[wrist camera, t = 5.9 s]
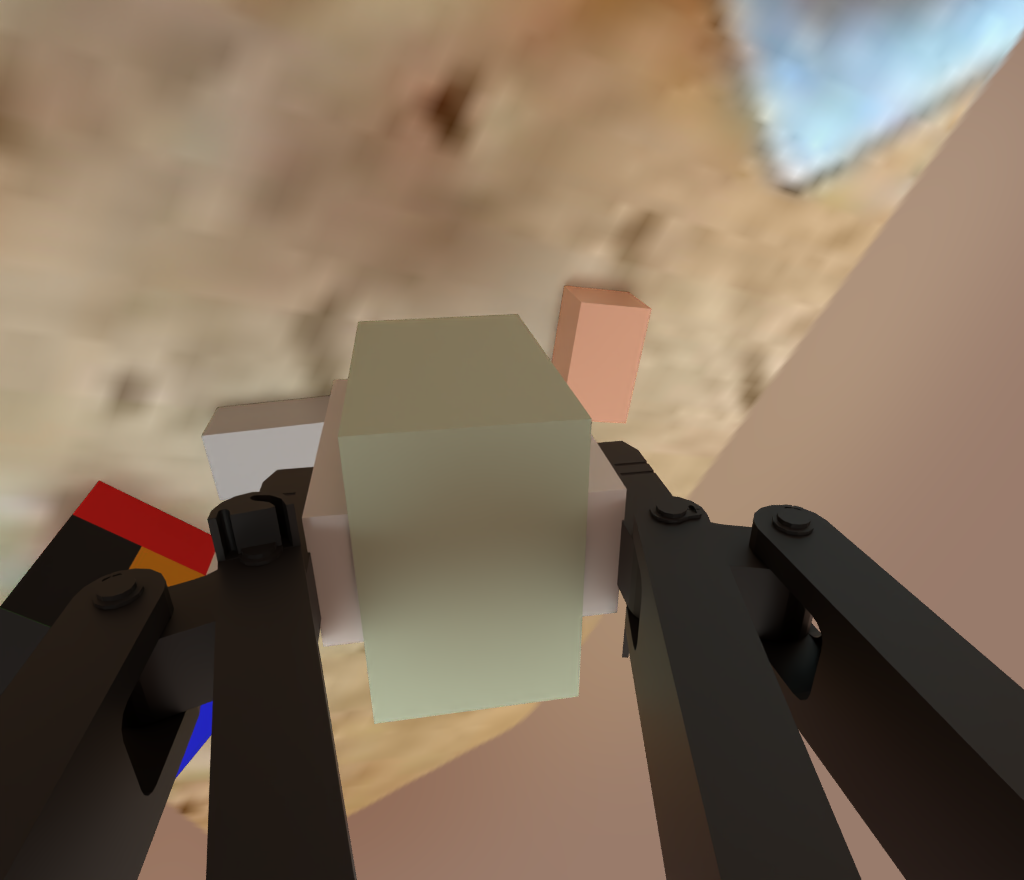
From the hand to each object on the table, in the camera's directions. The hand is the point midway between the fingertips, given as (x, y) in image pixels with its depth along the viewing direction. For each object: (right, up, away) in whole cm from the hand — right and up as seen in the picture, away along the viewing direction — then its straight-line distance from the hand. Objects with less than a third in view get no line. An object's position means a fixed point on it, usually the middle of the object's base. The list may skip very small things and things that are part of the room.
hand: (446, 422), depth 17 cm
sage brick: (0, 0, +1) cm, 1 cm away
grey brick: (-10, 0, +18) cm, 20 cm away
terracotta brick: (+6, +5, +18) cm, 20 cm away
